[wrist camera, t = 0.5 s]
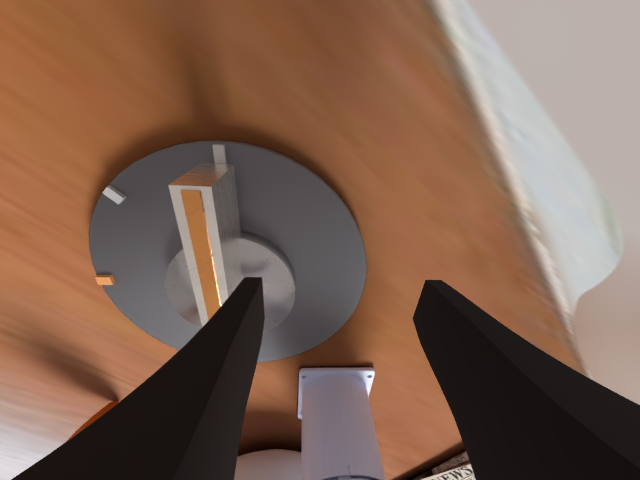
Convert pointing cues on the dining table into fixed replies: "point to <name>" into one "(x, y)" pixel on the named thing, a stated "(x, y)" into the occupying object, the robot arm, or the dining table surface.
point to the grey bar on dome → (221, 250)
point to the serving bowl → (269, 465)
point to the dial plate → (255, 216)
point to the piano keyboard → (450, 470)
